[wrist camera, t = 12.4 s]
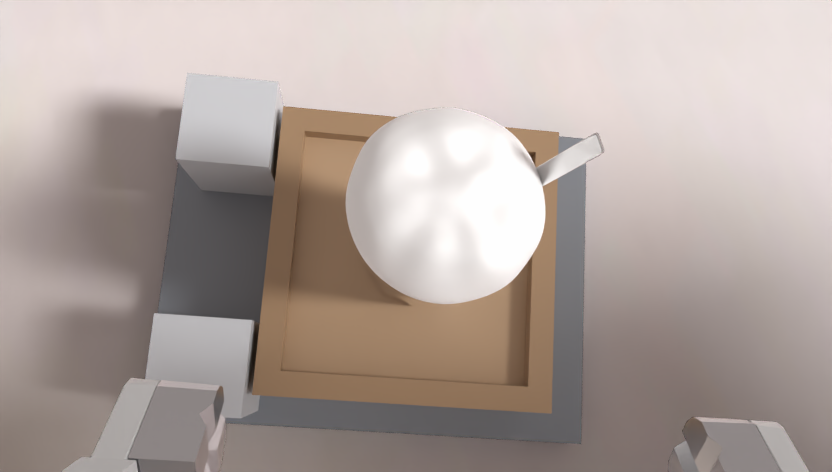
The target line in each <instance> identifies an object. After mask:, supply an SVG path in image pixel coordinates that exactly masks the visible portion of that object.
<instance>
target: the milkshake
mask: <svg viewBox="0 0 832 472" xmlns="http://www.w3.org/2000/svg"><path fill="white" fill-rule="evenodd" d="M602 153H604V148H603V145H602V142H601V139H600V136H599V134H598V133H594V134H592V135H590V136H589V137H587V138H585V139H584V140H582V141H580V142H578V143H577V144H575V145H573V146H572V147H570V148H568V149H567V150H565V151H563V152H561V153H560V154H558V155H556V156H555V157H553V158H551V159H550V160H548V161H546V162H545V163H543V164H541V165H539V166H538V167H535V165H534V163H533V161H532V159H531V157H530V155H529V154H528V152H527V150H526V149H525V147H524V146H523V145H522V143H521V142H520V141H519V140H518V139H517V138H516V137H515V136H514V135H513V134H512V133H511V132H510V131H509V130H507V129H506V128H505V127H503V126H502V125H500V124H498V123H497V122H495V121H493V120H491V119H489V118H487V117H485V116H482V115H480V114H477V113H474V112H471V111H468V110H464V109H459V108H451V107H443V108H433V109H426V110H420V111H415V112H411V113H407V114H404V115H402V116H399V117H397V118H395V119H393V120H391V121H389V122H388V123H386V124H385V125H383V126H382V127H381V128H379V129H378V130H377V131H376V132H375V133H374V134H372V136H371V137H370V138H369V139H368V140H367V141H366V143H365V144H364V146H363V147H362V149H361V151H360V153H359V155H358V157H357V159H356V162H355V164H354V167H353V169H352V172H351V175H350V178H349V181H348V185H347V191H346V214H347V221H348V225H349V229H350V232H351V235H352V238H353V241H354V243H355V245H356V247H357V249H358V251H359V253H360V255H361V256H362V258H363V259H364V262H365V265H366V267H367V270H368V272H369V273H370V274H371V276H372V277H373V279H374V280H375V282H376V283H377V285H378V286H379V288H380V289H381V291H382V292H383V294H384V295H385V296H387V297H390V298H393V299H395V300H398V301H401V302H404V303H406V304H409V305H411V306H418V305H423V304H429V303H436V304H456V303H463V302H468V301H472V300H476V299H479V298H482V297H485V296H488V295H490V294H492V293H495V292H497V291H499V290H500V289H502V288H504V287H505V286H506V285H508V284H509V283H510V282H511V281H512V280H513V279H514V278H515V277H516V276H517V275H518V274H519V273H520V272H521V270H522V269H523V268H524V266H525V265H526V264H527V262H528V261H529V259H530V258H531V256H532V255H533V253H534V251H535V250H536V248H537V246H538V244H539V242H540V239H541V237H542V233H543V230H544V224H545V199H544V192H543V186H545V185H546V184H548V183H550V182H552V181H554V180H556V179H557V178H559V177H561V176H563V175H565V174H567V173H568V172H570V171H572V170H574V169H576V168H578V167H579V166H581V165H583V164H585V163H587V162H588V161H590V160H592V159H594V158H596V157H598V156H599V155H601V154H602Z"/></svg>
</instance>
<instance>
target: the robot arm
mask: <svg viewBox="0 0 832 472" xmlns="http://www.w3.org/2000/svg"><path fill="white" fill-rule="evenodd" d="M223 403H224V393H223V387H222V386H220V385H210V384H199V383H189V382H178V381H167V380H151V379H140V378H130V379H129V380H128V381H127V383H126V384H125V385H124V386H123V388H122V391H121V393H120V395H119V397H118V399H117V401H116V404H115V406H114V408H113V410H112V412H111V414H110V416H109V419H108V421H107V423H106V425H105V427H104V429H103V432H102V434H101V436H100V438H99V440H98V442H97V445H96V447H95V449H94V451H93V453H92V455H91V457H80V458H79V459H78V460H76V461H75V462H74V463H72V464H71V465H70V466H68V467H67V468H65V469H64V470H63V471H61V472H220V468H221V464H222V460H223V454H224V448H225V440H226V419H225V418H224V417H223V416H222V415H221V411H222V407H223ZM682 432H683V434H684V437H685V439H686V440H685V441H684V442H682V443H681V444H679V445H678V446H676V447H674V449H673V451H672V454H671V456H670V459H669V463H668V472H809V470H808V468H807V467H806V465H805V463H804V462H803V460H802V458H801V456H800V455H799V453H798V451H797V450H796V448H795V446H794V444H793V443H792V441H791V439H790V437H789V436H788V434H787V432H786V431H785V429H784V428H783V426H781V425H780V424H779V423H778V422H771V421H755V420H742V419H725V418H707V417H692V418H691V419H689V420H688V421H687V422H686V424H685V426H684V428H683V430H682Z"/></svg>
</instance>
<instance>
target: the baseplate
mask: <svg viewBox="0 0 832 472" xmlns="http://www.w3.org/2000/svg"><path fill="white" fill-rule="evenodd" d="M395 118H397V117H391V116H380V115H370V114H359V113H349V112H338V111H327V110H317V109H306V108H296V107H285V106H284V103H283V99H282V95H281V91H280V87H279V83H278V82H276V81H266V80H255V79H245V78H235V77H224V76H214V75H204V74H194V73H187V78H186V86H185V93H184V100H183V107H182V115H181V122H180V129H179V136H178V144H177V151H176V158H175V159H176V160H177V162H178V168H177V176H176V183H175V190H174V198H173V205H172V212H171V219H170V227H169V234H168V241H167V249H166V256H165V263H164V270H163V278H162V285H161V292H160V300H159V307H158V313H154V317H153V324H152V332H151V339H150V346H149V353H148V361H147V368H146V375H145V379H151V380H167V381H178V382H189V383H199V384H210V385H220V386H222V387H223V393H224V403H223V407H222V411H221V415H222V416H223V417H224V418H225V419H226V423H234V424H251V425H268V426H285V427H302V428H319V429H335V430H352V431H369V432H386V433H403V434H420V435H437V436H454V437H471V438H488V439H505V440H521V441H538V442H555V443H572V444H581V416H582V359H583V303H584V246H585V190H586V163H585V164H583V165H581V166H579V167H578V168H576V169H574V170H572V171H570V172H568V173H567V174H565V175H563V176H561V177H559V178H557V179H556V180H554V181H552V182H550V183H548V184H546V185H545V186H543V192H544V199H545V224H544V230H543V233H542V237H541V239H540V242H539V244H538V246H537V248H536V250H535V251H534V253H533V255H532V256H531V258H530V259H529V261H528V262H527V264H526V265H525V266H524V268H523V269H522V270H521V272H520V273H519V274H518V275H517V276H516V277H515V278H514V279H513V280H512V281H511V282H510V283H509V284H508V285H506V286H505V287H504V288H502V289H500V290H499V291H497V292H495V293H492V294H490V295H488V296H485V297H482V298H479V299H476V300H472V301H468V302H463V303H456V304H436V303H429V304H423V305H418V306H411V305H409V304H406V303H404V302H401V301H398V300H395V299H393V298H390V297H387V296H385V295H384V294H383V292H382V291H381V289H380V288H379V286H378V285H377V283H376V282H375V280H374V279H373V277H372V276H371V274H370V273H369V272H368V270H367V267H366V265H365V262H364V259H363V258H362V256H361V255H360V253H359V251H358V249H357V247H356V245H355V243H354V241H353V238H352V235H351V232H350V229H349V225H348V221H347V214H346V191H347V185H348V181H349V178H350V175H351V172H352V169H353V167H354V164H355V162H356V159H357V157H358V155H359V153H360V151H361V149H362V147H363V146H364V144H365V143H366V141H367V140H368V139H369V138H370V137H371V136H372V134H374V133H375V132H376V131H377V130H378V129H379V128H381V127H382V126H383V125H385V124H386V123H388V122H389V121H391V120H393V119H395ZM505 128H506V129H507V130H509V131H510V132H511V133H512V134H513V135H514V136H515V137H516V138H517V139H518V140H519V141H520V142H521V143H522V145H523V146H524V147H525V149H526V150H527V152H528V154H529V155H530V157H531V159H532V161H533V163H534V165H535V167H538V166H539V165H541V164H543V163H545V162H546V161H548V160H550V159H551V158H553V157H555V156H556V155H558V154H560V153H561V152H563V151H565V150H567V149H568V148H570V147H572V146H573V145H575V144H577V143H578V142H580V141H582V140H584V139H582V138H571V137H560V136H559V132H549V131H539V130H528V129H518V128H507V127H505Z"/></svg>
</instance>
